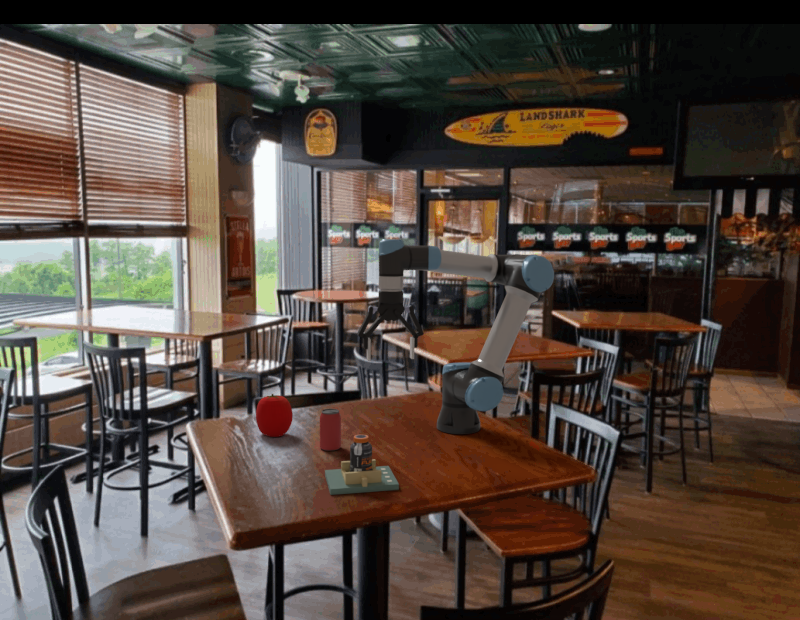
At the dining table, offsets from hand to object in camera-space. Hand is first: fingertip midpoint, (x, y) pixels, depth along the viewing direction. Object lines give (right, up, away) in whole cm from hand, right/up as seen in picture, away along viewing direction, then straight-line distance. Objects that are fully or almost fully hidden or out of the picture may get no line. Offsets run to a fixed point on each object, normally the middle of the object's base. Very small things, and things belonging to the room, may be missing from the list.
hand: (390, 359), depth 199 cm
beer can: (-19, -28, +4) cm, 34 cm away
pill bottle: (-8, -30, -24) cm, 39 cm away
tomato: (-39, -27, +17) cm, 50 cm away
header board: (-8, -32, -24) cm, 40 cm away
